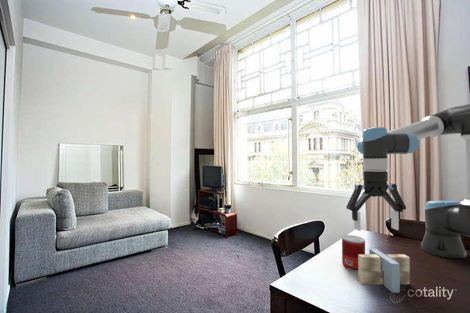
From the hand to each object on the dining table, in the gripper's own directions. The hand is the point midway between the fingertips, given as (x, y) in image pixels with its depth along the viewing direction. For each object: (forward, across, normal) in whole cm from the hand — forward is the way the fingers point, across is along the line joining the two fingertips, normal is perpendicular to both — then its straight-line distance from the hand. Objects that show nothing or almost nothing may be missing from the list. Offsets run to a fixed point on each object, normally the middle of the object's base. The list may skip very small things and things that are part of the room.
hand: (376, 229), depth 82 cm
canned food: (+17, +5, -7) cm, 19 cm away
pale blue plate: (+17, 0, +4) cm, 17 cm away
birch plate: (+17, 0, +4) cm, 17 cm away
